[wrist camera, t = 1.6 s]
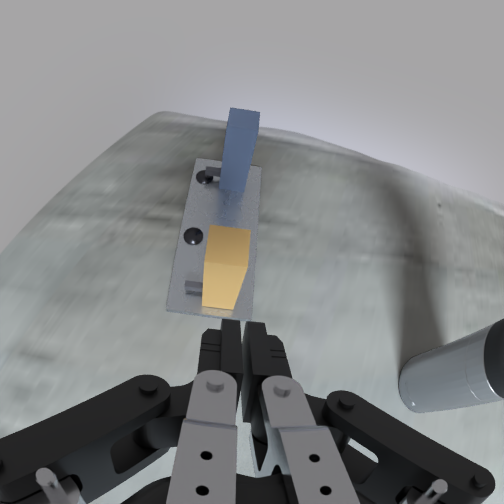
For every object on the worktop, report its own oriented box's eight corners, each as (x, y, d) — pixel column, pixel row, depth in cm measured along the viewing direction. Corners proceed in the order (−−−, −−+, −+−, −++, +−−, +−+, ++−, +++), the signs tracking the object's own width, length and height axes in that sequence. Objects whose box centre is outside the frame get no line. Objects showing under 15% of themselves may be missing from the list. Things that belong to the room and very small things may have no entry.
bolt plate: (196, 161, 53) (196, 157, 52) (260, 170, 54) (261, 166, 53) (166, 311, 41) (165, 308, 40) (250, 321, 42) (251, 319, 41)
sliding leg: (187, 274, 42) (185, 221, 31) (235, 281, 43) (250, 230, 32) (183, 303, 41) (178, 258, 29) (233, 309, 41) (247, 267, 30)
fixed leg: (207, 168, 52) (212, 105, 40) (245, 173, 52) (259, 112, 41) (203, 186, 50) (207, 123, 38) (244, 192, 50) (258, 130, 39)
